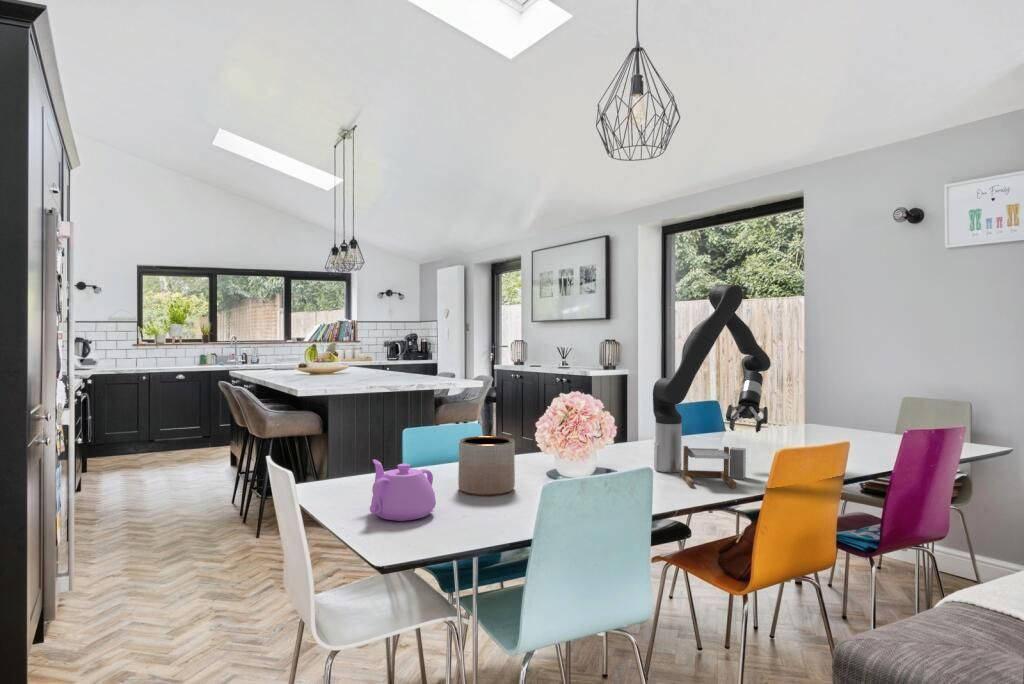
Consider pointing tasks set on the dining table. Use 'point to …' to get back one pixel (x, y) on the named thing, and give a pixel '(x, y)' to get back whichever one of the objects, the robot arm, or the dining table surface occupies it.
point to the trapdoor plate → (708, 453)
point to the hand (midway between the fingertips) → (744, 430)
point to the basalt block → (737, 463)
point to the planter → (486, 465)
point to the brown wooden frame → (687, 473)
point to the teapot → (402, 493)
